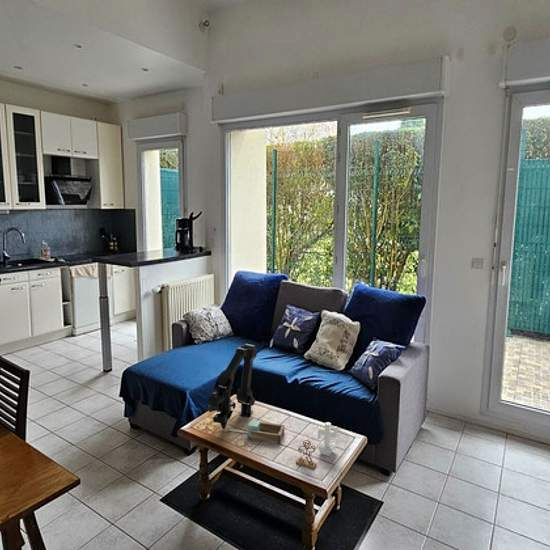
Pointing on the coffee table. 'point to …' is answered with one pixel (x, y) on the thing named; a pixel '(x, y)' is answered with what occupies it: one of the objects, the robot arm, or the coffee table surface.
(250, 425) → the block with cord
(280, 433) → the open wooden tray
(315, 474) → the coffee table surface
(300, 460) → the wire sculpture
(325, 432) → the figurine
